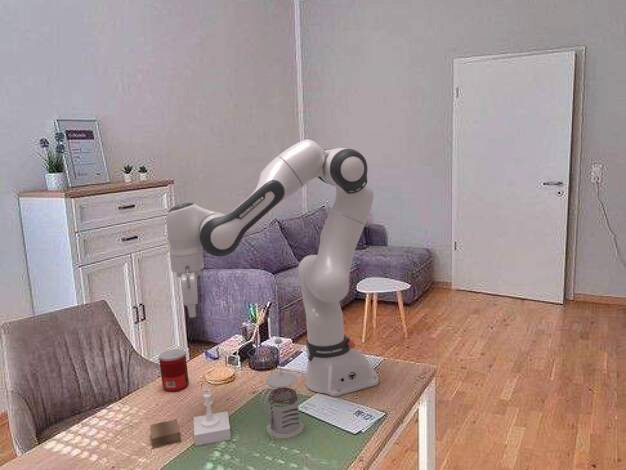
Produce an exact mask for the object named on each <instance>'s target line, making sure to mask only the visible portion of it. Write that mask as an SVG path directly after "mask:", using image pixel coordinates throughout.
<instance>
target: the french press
mask: <svg viewBox="0 0 626 470" xmlns="http://www.w3.org/2000/svg"><path fill="white" fill-rule="evenodd" d="M274 344H276V345H277V346H278V348H277V349H278V360H279V361H278V362H279V369H280V371H277V372H274V373H272V374H271V375H269V376H267V378H266V379H265V382H266V385H268V387H270V388H274V389H273V390H272V391H271V390H269V388H267V389H265V390H264V391H263V393H262V394H261V397H260V401H259V407H260V408H259V409H260V411H261V413H262V414H263V415H265V416H266V417H268V418H269V424H268V425H267V427H266V433H267V434H268V435H269V436H271V437H274V438H276V439H286V438H287V439H288V438H292V437H295V436H298V435H299V434H300V433H301V432H303V430H304V427H305V426H304V423H303V422H302V421H301V420H300V409H299V398H298V395H297V391H296V389H294V388H292V387H291V386H292V385H294V384H295V383H296V382H297V380H298V377H297V375H296V374H294V373H292V372H290V371H282V366H281V365H282V364H281V354H280V352H281V351H280V345H281V344H283V340H282V338H280V337H278V338H275V340H274ZM266 392H268V393H267V395H266V397H265V399H264V403H263V409H262V399H263V397H264V394H265V393H266ZM267 398H268V400H267ZM267 401H268V412H269V414H267V411H266V402H267ZM273 404H274V405H273ZM277 404H280V405H277ZM284 405H286V406H284Z"/></svg>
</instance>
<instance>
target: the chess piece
mask: <svg viewBox="0 0 626 470" xmlns="http://www.w3.org/2000/svg"><path fill="white" fill-rule="evenodd" d="M203 392H204V394H203V395H202V396H203V398H204V401H205V402H204V403H203V405H204V406H206V414H205V415H206V417H205V418H203V419H202V420H201V426H202V427H204V428H212V427H215V426H217V425H218V424H219V423H220V420H219V417H217V416H214V415H213V414H214V413H213V411H212V405H213V401H212V400H211V398H212V393H211V389H209V388H208V386H205V389H203Z"/></svg>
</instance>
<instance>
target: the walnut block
mask: <svg viewBox="0 0 626 470" xmlns="http://www.w3.org/2000/svg"><path fill="white" fill-rule="evenodd" d="M179 426H180V425H179V422H178V419H177V418H174V419H169V420H166V421H162V422H157V423H153V424H149V428H150V429H149V430H150V436H151V437H150V438H151V445H152V449H155V448H159V447H163V446H167V445H171V444H175V443H179V442H180V443H181V441H182V438H181V430H180V427H179Z"/></svg>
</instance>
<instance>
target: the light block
mask: <svg viewBox="0 0 626 470" xmlns="http://www.w3.org/2000/svg"><path fill="white" fill-rule="evenodd" d="M228 412H229V411H221V412H216V413H212V414H213V415H214V416H217V417H219V420H220V423H219V424H218V425H217V426H215V427H212V428H204V427H202V426H201V420H202V419H203V418H205V417H206V415H207V414H205V415H199V416H193V437H194V439H193V440H194V444H195V446H196V447H198V446H202V445H203V444H204V445H209V444H214V443H220V442H225V441H230V440H232V437H231V426H230V421H229V420H230V419H229V413H228Z"/></svg>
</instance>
